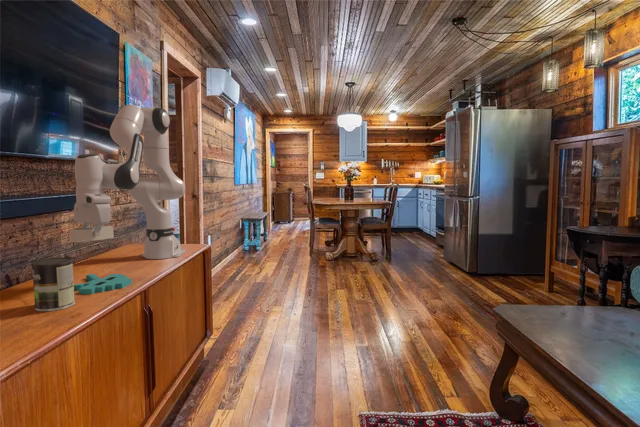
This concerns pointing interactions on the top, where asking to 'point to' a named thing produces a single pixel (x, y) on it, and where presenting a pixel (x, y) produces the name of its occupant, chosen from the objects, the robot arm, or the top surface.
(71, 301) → the coffee can
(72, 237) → the beige rectangular block
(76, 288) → the alien figure
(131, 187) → the robot arm
